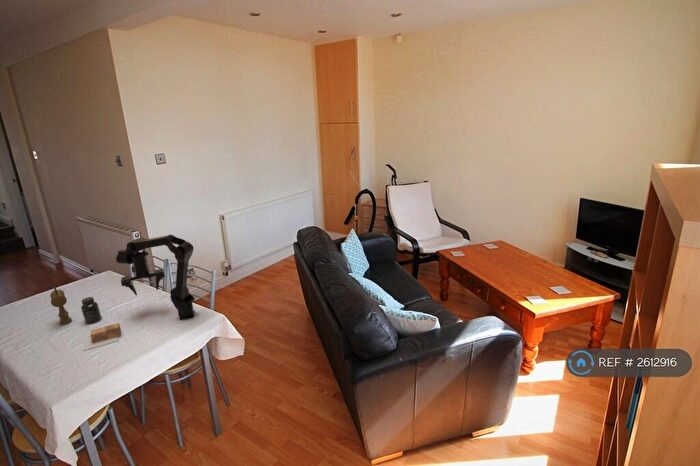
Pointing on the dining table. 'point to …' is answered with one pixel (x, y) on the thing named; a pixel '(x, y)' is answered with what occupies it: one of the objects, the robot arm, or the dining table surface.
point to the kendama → (60, 305)
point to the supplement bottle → (90, 310)
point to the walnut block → (105, 333)
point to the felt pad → (90, 344)
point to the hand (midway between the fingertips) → (146, 292)
